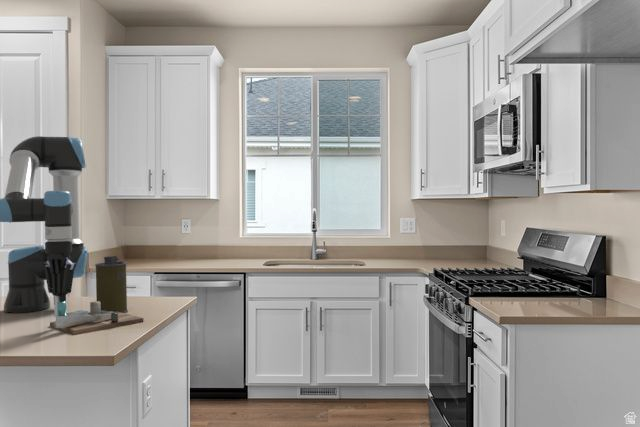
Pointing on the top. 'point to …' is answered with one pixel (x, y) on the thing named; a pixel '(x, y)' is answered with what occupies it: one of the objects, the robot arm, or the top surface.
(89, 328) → the board
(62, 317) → the square loop handle
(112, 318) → the dowel
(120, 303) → the canister
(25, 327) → the top surface
